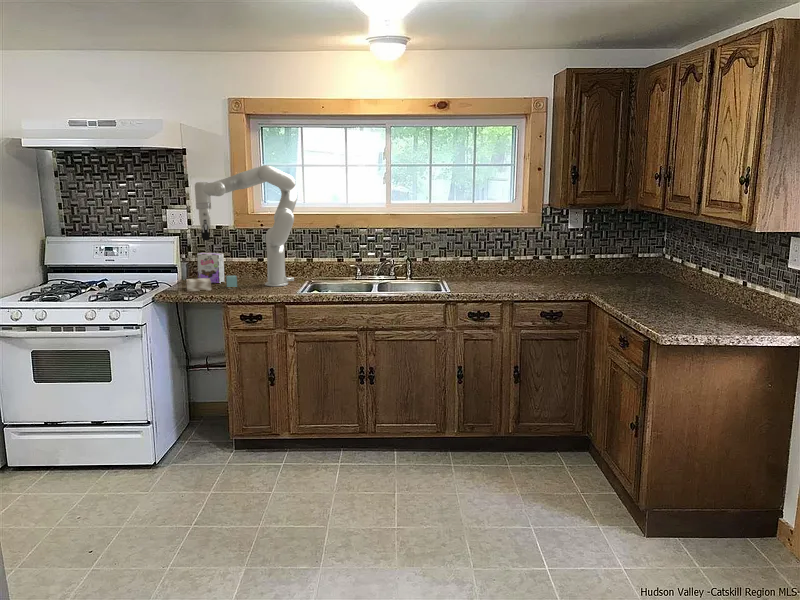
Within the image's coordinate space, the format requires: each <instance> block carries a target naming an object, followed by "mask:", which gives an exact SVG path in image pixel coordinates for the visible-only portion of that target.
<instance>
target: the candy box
mask: <svg viewBox="0 0 800 600" xmlns="http://www.w3.org/2000/svg"><path fill="white" fill-rule="evenodd" d="M224 257H225V256H224V253H218V252H217V253H216V252H198V253H197V254H196V260H197V261H196V262H197V264H196V266H197V279H200V278H210V280H211V284H216V283H220V284H222V283H221V282H224V283H225V281H226V280H225V262H224V261H225V258H224Z"/></svg>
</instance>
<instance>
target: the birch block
mask: <svg viewBox="0 0 800 600" xmlns="http://www.w3.org/2000/svg"><path fill="white" fill-rule="evenodd" d="M185 280H186V282H185V284H186V291H187V292H201V291H200V290H206V291H212V283H211V280H210V278H200V279H198V278H186V279H185Z"/></svg>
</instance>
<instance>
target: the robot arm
mask: <svg viewBox="0 0 800 600" xmlns="http://www.w3.org/2000/svg"><path fill="white" fill-rule="evenodd" d="M263 183H268V184H271V185H272V186H275V187H276V188H278V189H279V191H280V192H281V193H280V195H281V196H280V199H279V203H278V206H277V207H276V210H275V212H274V214H273V215H274V216H273V220H274V221H273V222H274V223H273V226H272V227H270V228H268V230H267V231H266V233H265V243H266V244H265V245H266V246H265V247H266V261H267V262H266V265H267V281H266V282H264V285H265V286H266V287H283V286H284V287H285V286H288V285H289V282H294V281H295V277H287V276H286V260H285V259H286V256H285V255H286V254H285V252H286V251H285V243H286V242H287V241H288V238H289V236H290V233H291V231H292V228H293V226H294V222H295V215H294V210H295V207H296V204H297V201H298V190H297V187H296V179H295V178H294V177H293V176H292V175H291V174H289V173H286V172H284V171H282V170H280V169H278V168H276V167H274V166H272V165H268V164H265V165H260V166H258V167H254V168H251V169H247V170H244V171H241V172H239V173H238V172H237V173H236V174H233V175H231V176H228V177H224V178H222V179H219V180H215V181H213V182H206V181H203V182H202V181H200V182H195V183H194V195H195V196H194V197H195V209H196V210H198V219H199V227H200V229H201V231H200V232H201V233H200V234H201V239H202V240H203V241H210V231H209V230H210V229H211V228H212V223H211V214H210V213H211V212H210V210H212V201H211V197H221V196H224V195H226V194H227V193H231V192H235V191H238V190H245V189H249V188H252V187H255V186H257V185H260V184H263Z"/></svg>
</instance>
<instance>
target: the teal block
mask: <svg viewBox="0 0 800 600" xmlns="http://www.w3.org/2000/svg"><path fill="white" fill-rule="evenodd" d="M225 277H226V278H225V281H226V288H227V287H237V288H238V276H237V275H226V276H225Z"/></svg>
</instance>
